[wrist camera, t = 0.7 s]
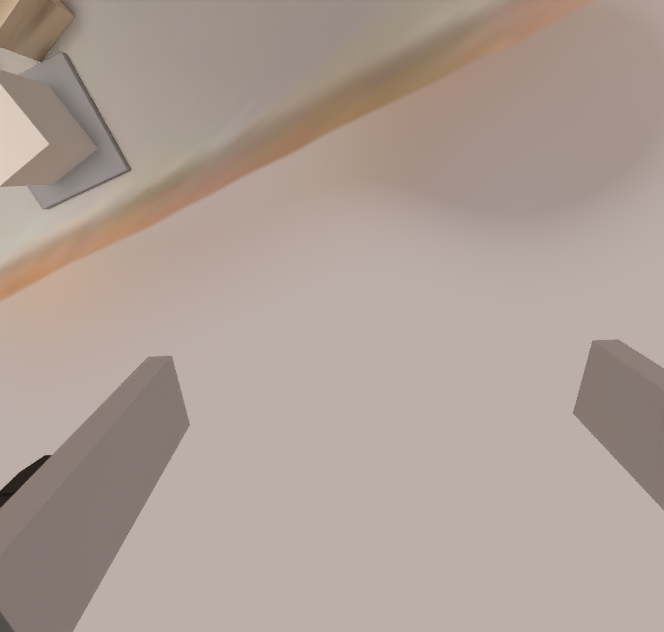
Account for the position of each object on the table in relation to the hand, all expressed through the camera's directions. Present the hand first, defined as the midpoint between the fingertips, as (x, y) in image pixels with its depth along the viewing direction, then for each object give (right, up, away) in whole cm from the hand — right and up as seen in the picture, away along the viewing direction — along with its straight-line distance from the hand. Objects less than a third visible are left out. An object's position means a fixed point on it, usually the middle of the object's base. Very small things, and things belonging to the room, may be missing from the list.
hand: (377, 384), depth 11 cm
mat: (-27, +19, +22) cm, 40 cm away
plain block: (-27, +19, +21) cm, 40 cm away
